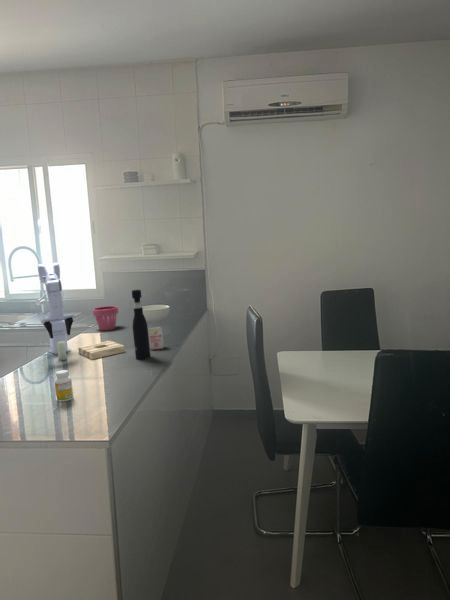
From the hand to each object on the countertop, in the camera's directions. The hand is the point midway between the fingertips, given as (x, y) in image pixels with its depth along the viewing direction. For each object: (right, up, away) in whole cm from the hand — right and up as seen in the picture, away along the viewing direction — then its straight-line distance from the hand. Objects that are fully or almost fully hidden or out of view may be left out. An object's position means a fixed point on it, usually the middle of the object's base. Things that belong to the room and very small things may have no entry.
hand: (60, 336), depth 212 cm
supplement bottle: (+20, -18, -52) cm, 58 cm away
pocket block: (+16, -8, +9) cm, 20 cm away
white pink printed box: (+42, -7, +9) cm, 44 cm away
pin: (0, -11, +2) cm, 11 cm away
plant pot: (+5, -1, +65) cm, 65 cm away
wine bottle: (+39, -9, -6) cm, 40 cm away
